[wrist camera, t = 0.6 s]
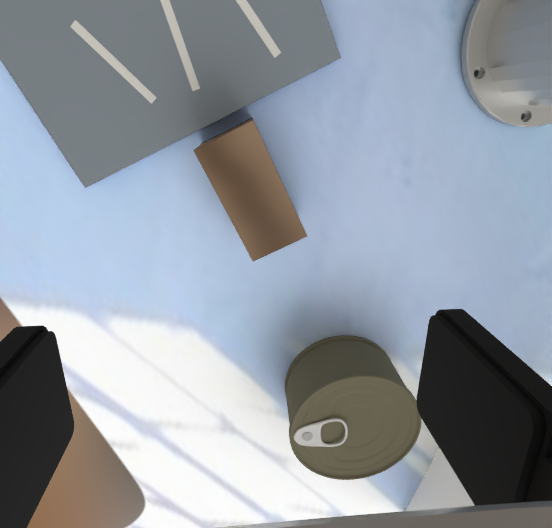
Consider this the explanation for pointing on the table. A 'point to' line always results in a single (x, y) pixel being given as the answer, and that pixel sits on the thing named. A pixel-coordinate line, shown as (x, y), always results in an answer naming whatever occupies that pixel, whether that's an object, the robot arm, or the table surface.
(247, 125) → the block
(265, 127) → the table surface
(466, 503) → the milk
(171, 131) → the board
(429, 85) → the table surface
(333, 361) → the can
